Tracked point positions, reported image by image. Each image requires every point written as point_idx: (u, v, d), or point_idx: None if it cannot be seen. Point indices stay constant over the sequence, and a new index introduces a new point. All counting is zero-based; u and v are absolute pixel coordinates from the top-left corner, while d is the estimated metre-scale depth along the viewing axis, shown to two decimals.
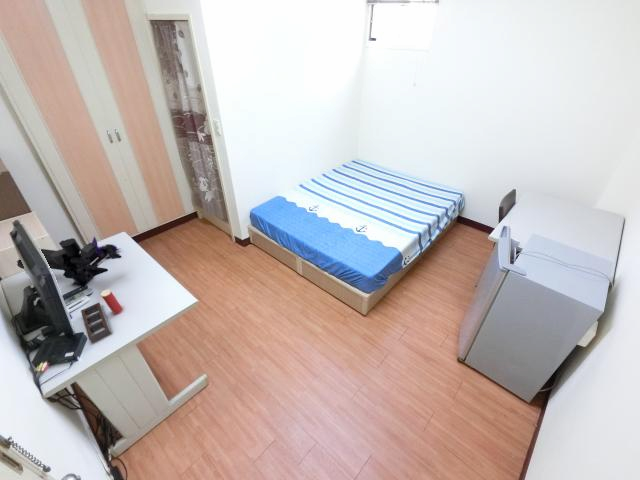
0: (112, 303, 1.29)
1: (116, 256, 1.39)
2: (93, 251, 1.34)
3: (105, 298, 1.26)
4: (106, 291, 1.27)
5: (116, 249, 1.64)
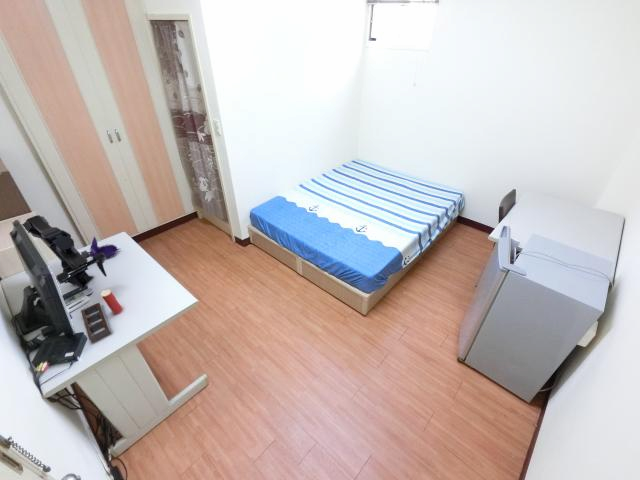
0: (112, 303, 1.29)
1: (102, 272, 1.32)
2: None
3: (105, 298, 1.26)
4: (106, 291, 1.27)
5: (116, 249, 1.64)
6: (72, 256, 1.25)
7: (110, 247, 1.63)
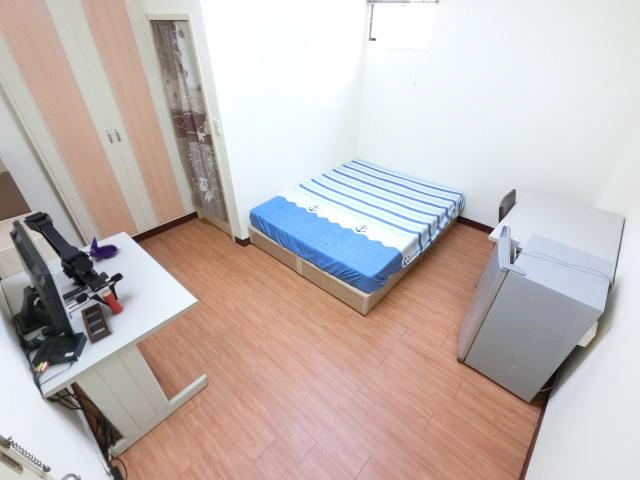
0: (112, 303, 1.29)
1: None
2: None
3: (105, 298, 1.26)
4: (106, 291, 1.27)
5: (116, 249, 1.64)
6: (91, 277, 1.25)
7: (110, 247, 1.63)
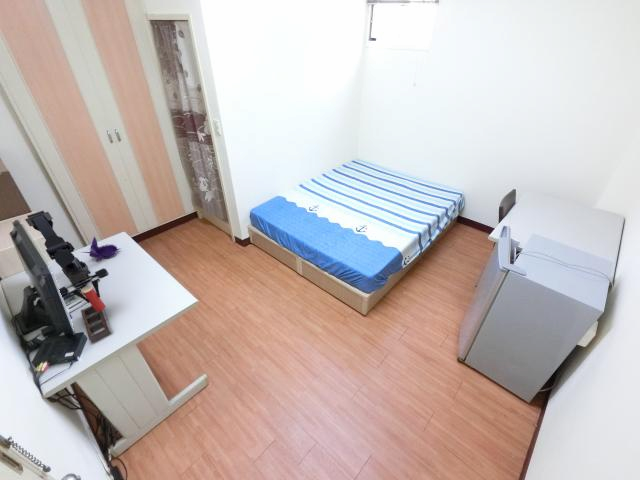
0: (93, 300, 1.21)
1: (96, 292, 1.23)
2: None
3: (85, 294, 1.18)
4: (87, 287, 1.19)
5: (116, 249, 1.64)
6: (73, 271, 1.18)
7: (110, 247, 1.63)
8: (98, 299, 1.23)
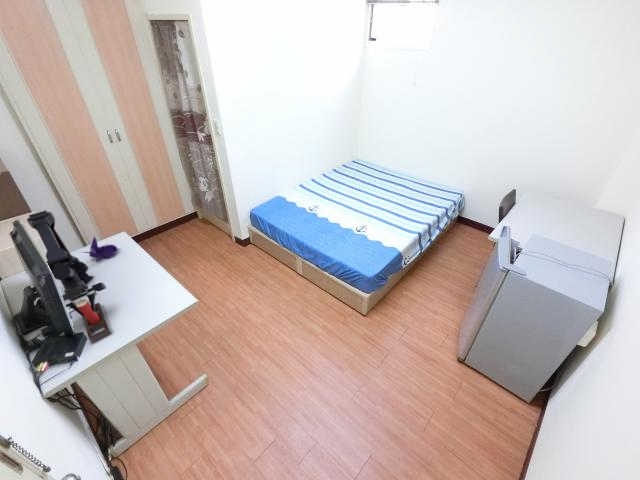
0: (87, 314, 1.22)
1: None
2: None
3: (79, 308, 1.19)
4: (82, 301, 1.20)
5: (116, 249, 1.64)
6: (70, 284, 1.19)
7: (110, 247, 1.63)
8: (93, 313, 1.24)
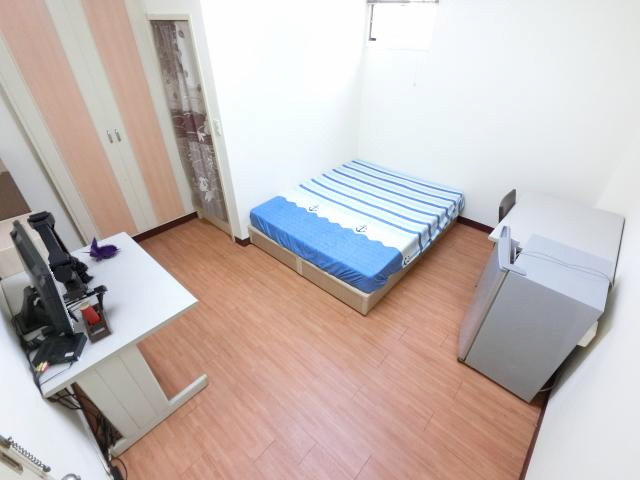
0: (90, 317, 1.23)
1: (100, 305, 1.26)
2: None
3: (82, 311, 1.20)
4: (85, 304, 1.21)
5: (116, 249, 1.64)
6: (72, 286, 1.20)
7: (110, 247, 1.63)
8: (95, 316, 1.25)
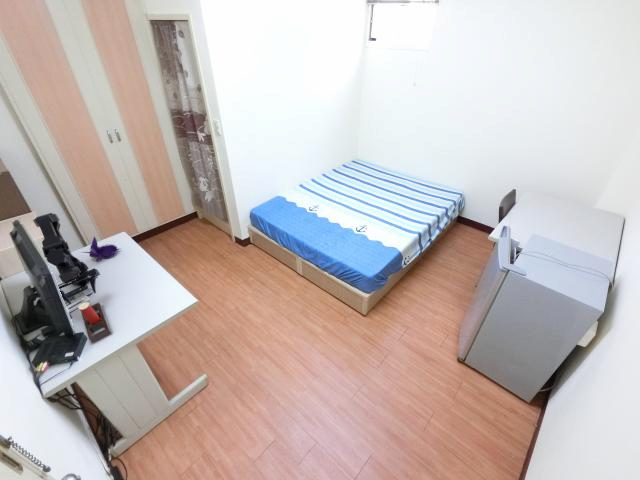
0: (90, 317, 1.23)
1: (92, 288, 1.29)
2: None
3: (82, 311, 1.20)
4: (85, 304, 1.21)
5: (116, 249, 1.64)
6: (65, 269, 1.24)
7: (110, 247, 1.63)
8: (95, 316, 1.25)
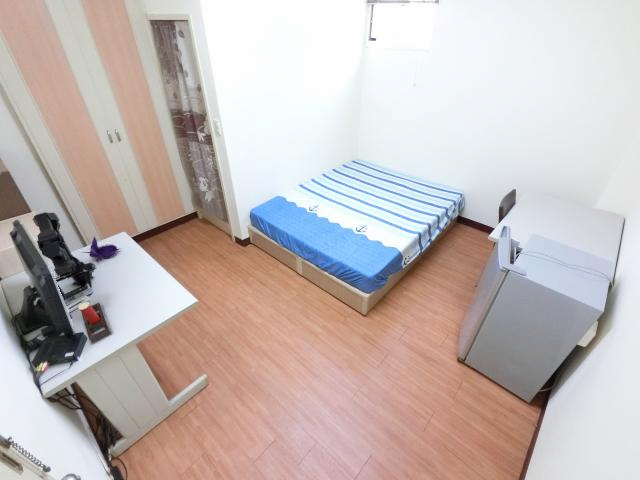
0: (90, 317, 1.23)
1: (88, 282, 1.27)
2: None
3: (82, 311, 1.20)
4: (85, 304, 1.21)
5: (116, 249, 1.64)
6: (60, 263, 1.22)
7: (110, 247, 1.63)
8: (95, 316, 1.25)
